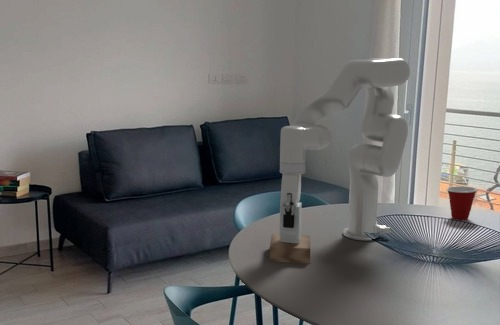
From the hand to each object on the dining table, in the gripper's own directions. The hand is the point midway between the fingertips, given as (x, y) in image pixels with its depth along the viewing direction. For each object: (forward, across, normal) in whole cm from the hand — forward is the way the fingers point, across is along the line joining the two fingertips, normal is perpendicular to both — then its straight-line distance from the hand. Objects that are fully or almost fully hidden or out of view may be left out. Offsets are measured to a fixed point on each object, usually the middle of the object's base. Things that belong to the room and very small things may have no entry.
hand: (291, 222), depth 165 cm
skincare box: (+6, 0, 0) cm, 6 cm away
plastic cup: (+11, -55, +57) cm, 80 cm away
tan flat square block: (+11, 0, 0) cm, 11 cm away
